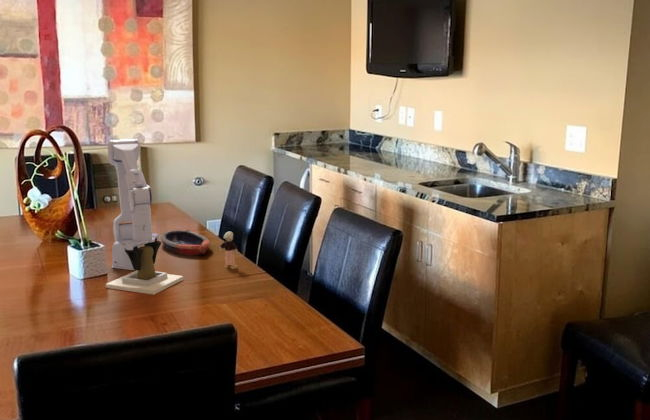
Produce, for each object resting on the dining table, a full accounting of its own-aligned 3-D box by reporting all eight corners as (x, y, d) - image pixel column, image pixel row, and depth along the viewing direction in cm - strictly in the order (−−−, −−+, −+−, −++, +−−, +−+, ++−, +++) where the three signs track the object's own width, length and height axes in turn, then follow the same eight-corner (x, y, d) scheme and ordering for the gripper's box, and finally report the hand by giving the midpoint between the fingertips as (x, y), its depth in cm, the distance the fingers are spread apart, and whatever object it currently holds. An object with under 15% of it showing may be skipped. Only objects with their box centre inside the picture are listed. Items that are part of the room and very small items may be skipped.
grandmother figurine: (242, 266, 235) (241, 231, 232) (237, 269, 232) (236, 233, 229) (222, 264, 238) (221, 229, 235) (217, 267, 234) (215, 231, 231)
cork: (151, 283, 213) (149, 249, 210) (133, 282, 214) (131, 248, 212) (159, 277, 218) (158, 244, 216) (142, 276, 220) (140, 243, 217)
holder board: (105, 287, 213) (105, 279, 212) (137, 273, 227) (137, 265, 227) (154, 294, 206) (153, 286, 206) (183, 279, 221) (183, 271, 220)
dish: (190, 238, 276) (189, 226, 275) (220, 255, 250) (220, 242, 249) (152, 243, 268) (152, 230, 267) (180, 261, 242) (179, 248, 241)
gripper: (138, 231, 205) (140, 274, 207) (166, 221, 218) (168, 261, 221) (119, 229, 207) (121, 271, 210) (147, 219, 220) (150, 259, 223)
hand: (144, 266), depth 215 cm, fingers open, 7 cm apart
